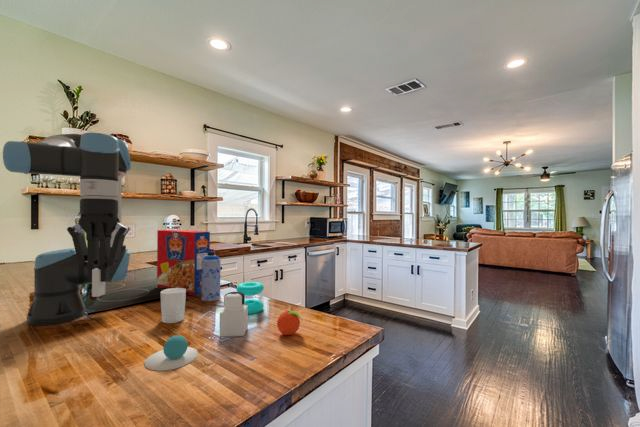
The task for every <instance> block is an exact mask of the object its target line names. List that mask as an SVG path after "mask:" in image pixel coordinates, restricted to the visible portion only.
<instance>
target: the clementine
mask: <svg viewBox="0 0 640 427" xmlns="http://www.w3.org/2000/svg"><path fill="white" fill-rule="evenodd" d="M300 320H301V321H303V320H302V317H301V316H300V314H298V313H297V312H295V311H293V310H285V311H283V312H281V314H280V315H279V316H278V318H277V322H276V326H277V328H278V331H279V332H280V333H281V334H283V335H284V336H291V335H294V334H295V333H296V332H297V331H298V330H299V329H300V325H301V321H300Z"/></svg>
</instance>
